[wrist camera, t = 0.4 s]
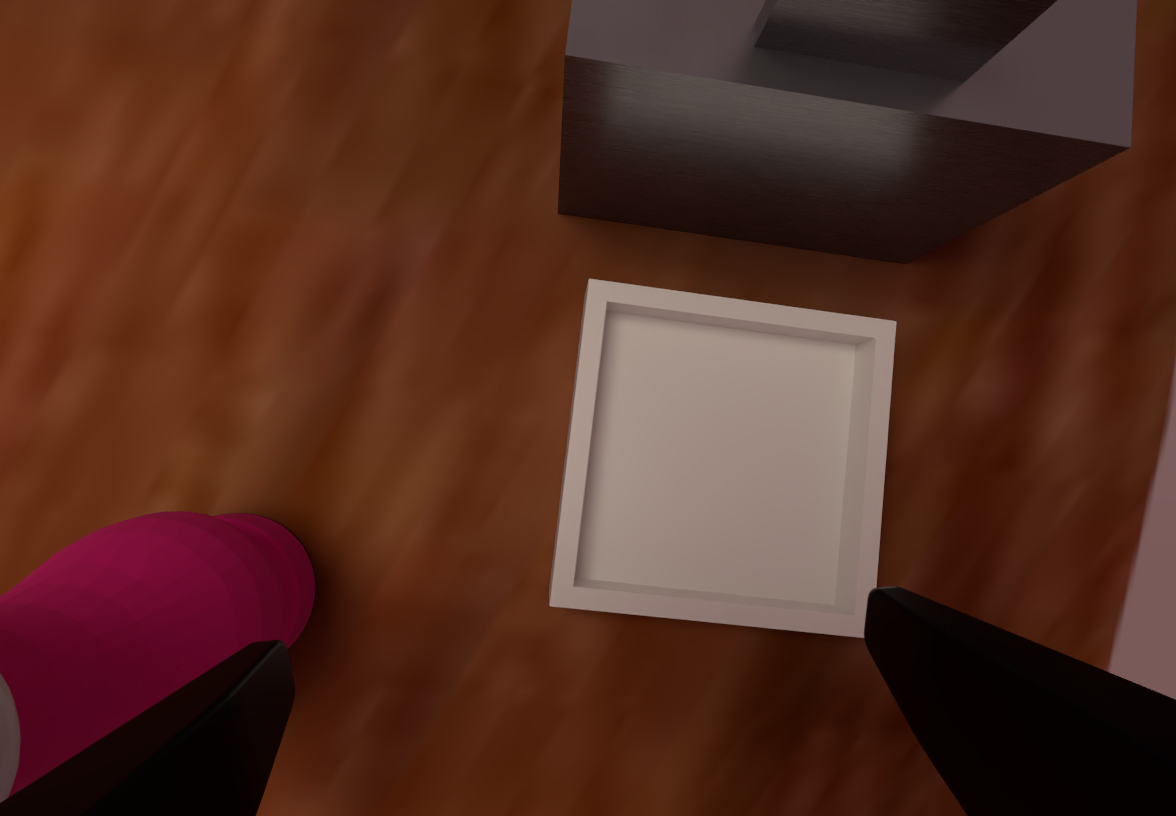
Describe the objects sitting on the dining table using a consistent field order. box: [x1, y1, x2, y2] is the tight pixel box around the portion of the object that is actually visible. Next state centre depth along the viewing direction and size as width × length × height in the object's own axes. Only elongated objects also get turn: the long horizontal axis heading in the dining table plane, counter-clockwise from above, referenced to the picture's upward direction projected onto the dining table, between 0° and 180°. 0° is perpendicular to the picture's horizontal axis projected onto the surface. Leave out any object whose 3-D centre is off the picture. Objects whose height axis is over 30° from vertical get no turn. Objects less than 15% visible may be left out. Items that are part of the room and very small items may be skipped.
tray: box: [549, 279, 896, 638], centre depth 23 cm, size 13×13×2 cm
